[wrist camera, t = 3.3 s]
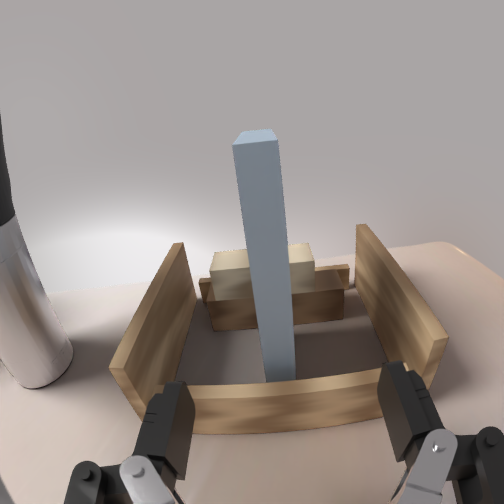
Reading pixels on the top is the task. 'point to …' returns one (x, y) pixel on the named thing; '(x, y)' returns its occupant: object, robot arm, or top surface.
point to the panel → (267, 248)
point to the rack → (286, 392)
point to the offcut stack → (242, 298)
